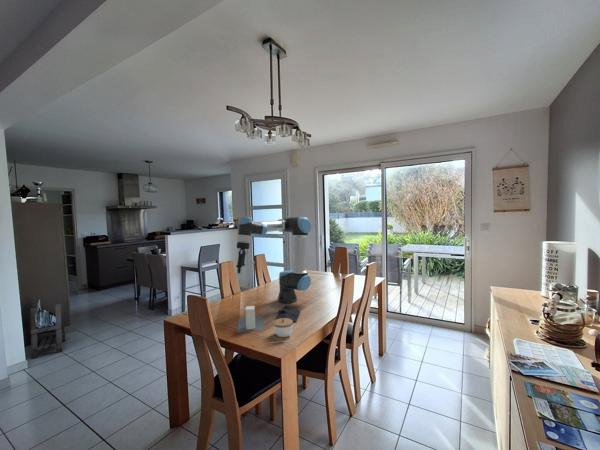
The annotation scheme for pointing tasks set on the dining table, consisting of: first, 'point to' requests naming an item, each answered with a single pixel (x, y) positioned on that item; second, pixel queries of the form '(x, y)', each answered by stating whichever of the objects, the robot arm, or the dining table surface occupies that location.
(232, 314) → the dining table surface
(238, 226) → the robot arm
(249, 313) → the block
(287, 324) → the lidded jar
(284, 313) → the dark slate chunk
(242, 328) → the mat
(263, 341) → the dining table surface
